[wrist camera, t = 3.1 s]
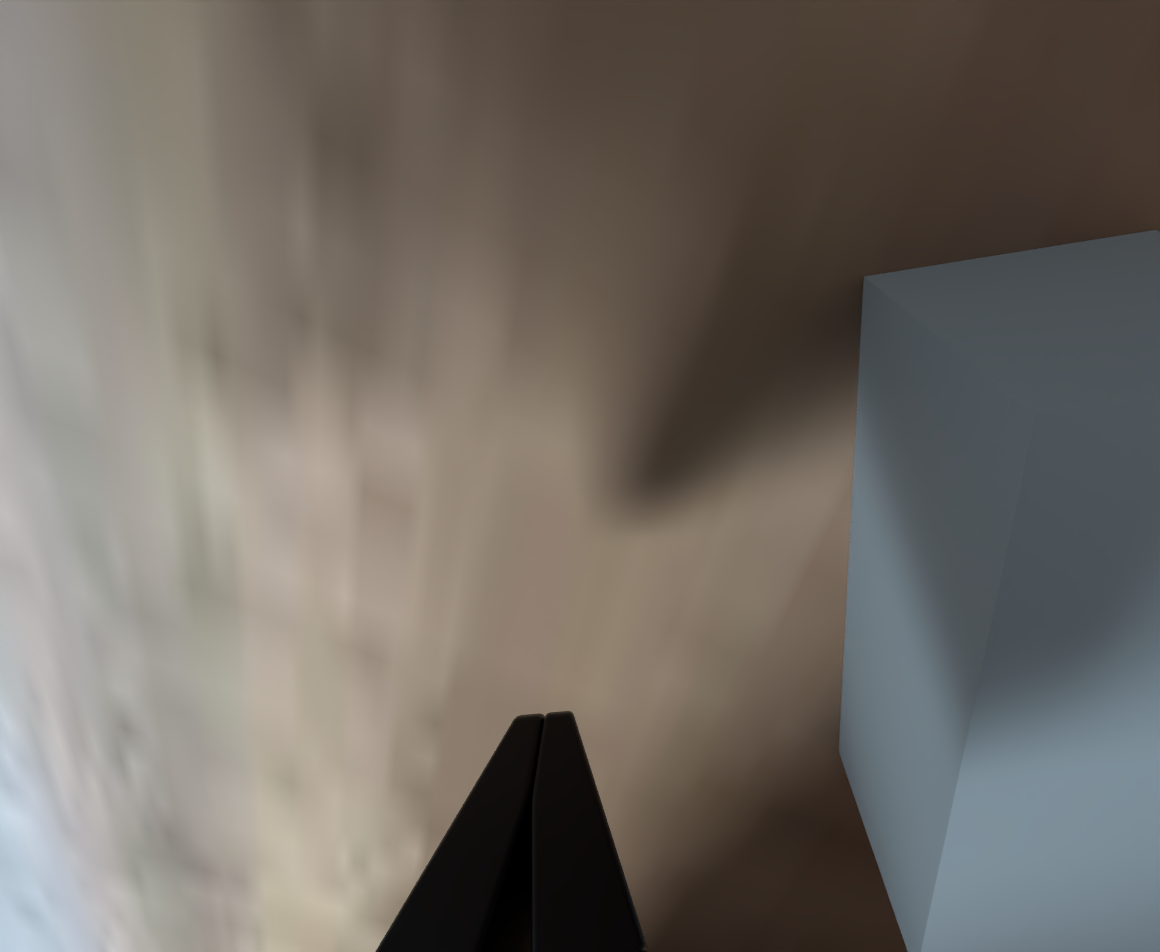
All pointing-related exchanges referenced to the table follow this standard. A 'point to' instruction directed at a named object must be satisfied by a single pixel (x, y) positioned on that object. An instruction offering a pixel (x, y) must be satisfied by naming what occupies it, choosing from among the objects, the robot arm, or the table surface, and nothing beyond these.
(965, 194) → the table surface
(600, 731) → the table surface
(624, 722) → the table surface
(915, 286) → the t block
